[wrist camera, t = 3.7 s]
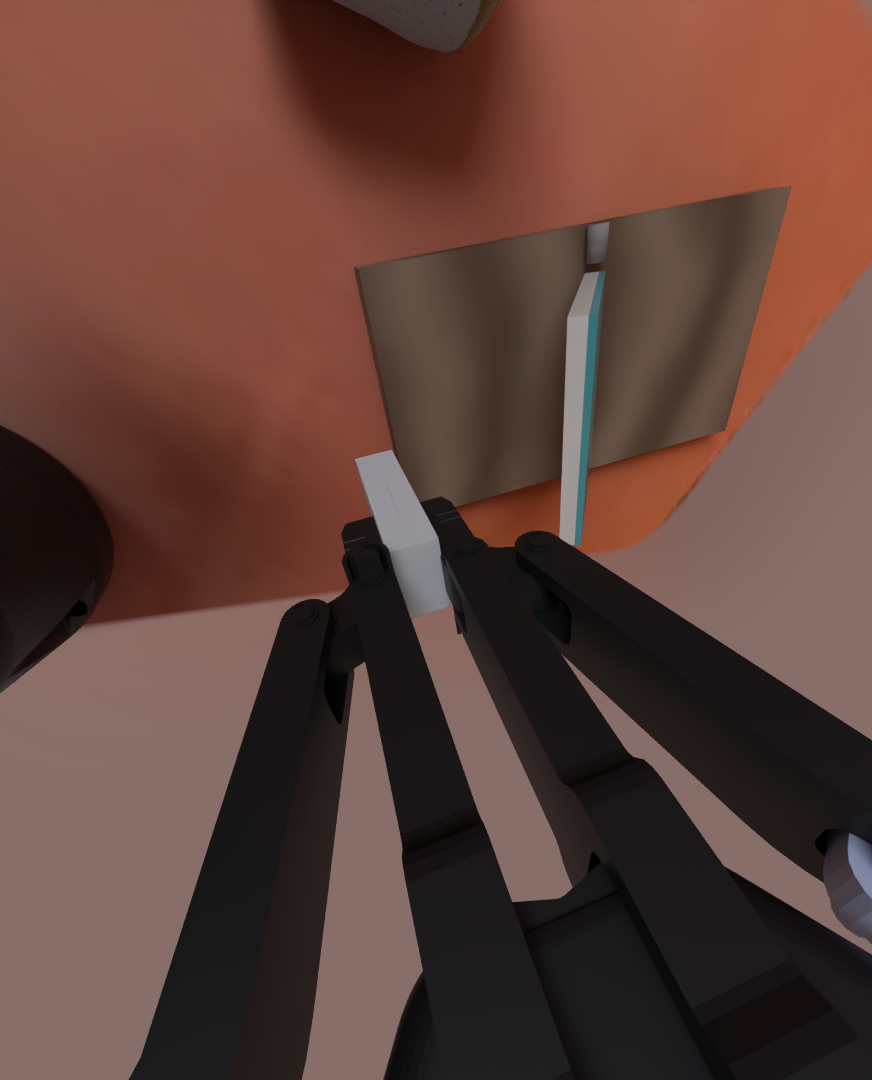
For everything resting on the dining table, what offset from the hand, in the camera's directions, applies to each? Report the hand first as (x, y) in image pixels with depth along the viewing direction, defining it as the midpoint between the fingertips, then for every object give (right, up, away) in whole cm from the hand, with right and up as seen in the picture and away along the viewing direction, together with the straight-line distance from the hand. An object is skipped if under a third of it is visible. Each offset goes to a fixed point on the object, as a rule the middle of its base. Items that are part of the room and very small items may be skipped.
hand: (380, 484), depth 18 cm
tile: (+9, +5, +4) cm, 11 cm away
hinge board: (+11, +9, +9) cm, 17 cm away
